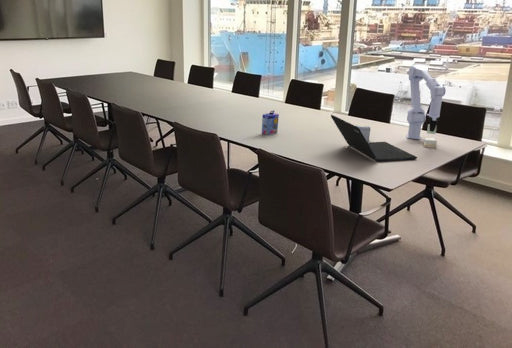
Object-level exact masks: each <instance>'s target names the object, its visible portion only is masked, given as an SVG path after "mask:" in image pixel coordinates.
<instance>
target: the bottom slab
mask: <svg viewBox="0 0 512 348" xmlns="http://www.w3.org/2000/svg"><path fill="white" fill-rule="evenodd" d="M422 145H423V147H425V148H433V149H437V144H436V145H435V144H425V143H424V141H423V144H422Z"/></svg>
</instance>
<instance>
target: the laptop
mask: <svg viewBox="0 0 512 348" xmlns="http://www.w3.org/2000/svg"><path fill="white" fill-rule="evenodd" d="M330 117H331V119H332V120H333V122H334V124H335V126H336V128H337V129H338V131H339V132H340V133H341V136H342V137H343V138H344V140H345V142H346V144H347V145H348V146H350V147H352V148H354V149H355V150H358V151H359V152H361V153H362V154H365V155H366V156H367V157H370V158H371V159H373V160H375V161H376V162H390V161H391V162H392V161H394V162H395V161H403V160H405V161H407V160H416V159H418V156H416V155H415V154H414V155H413V154H412V153H409V152H408V151H405V150H404V149H401V148H399V147H396V146H394V145H393V144H391V143H389V142H387V141H375V142H374V141H373V142H369V141H366V139H365V138H364V136H363V134H362V133H361V131H360V129H359V128H358V127H357V126H358V125H355V124H352V123H350V122H349V121H346V120H344V119H342V118H340V117H338V116H335V115H333V114H330Z"/></svg>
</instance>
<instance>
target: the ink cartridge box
mask: <svg viewBox="0 0 512 348" xmlns="http://www.w3.org/2000/svg"><path fill="white" fill-rule="evenodd" d="M279 116H280V113H276V112H275V110H270V112H269V113H264V114H262V119H261V121H262V123H261V134H263V135H265V136H269V135H274V134H277V133H278V127H279Z"/></svg>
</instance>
